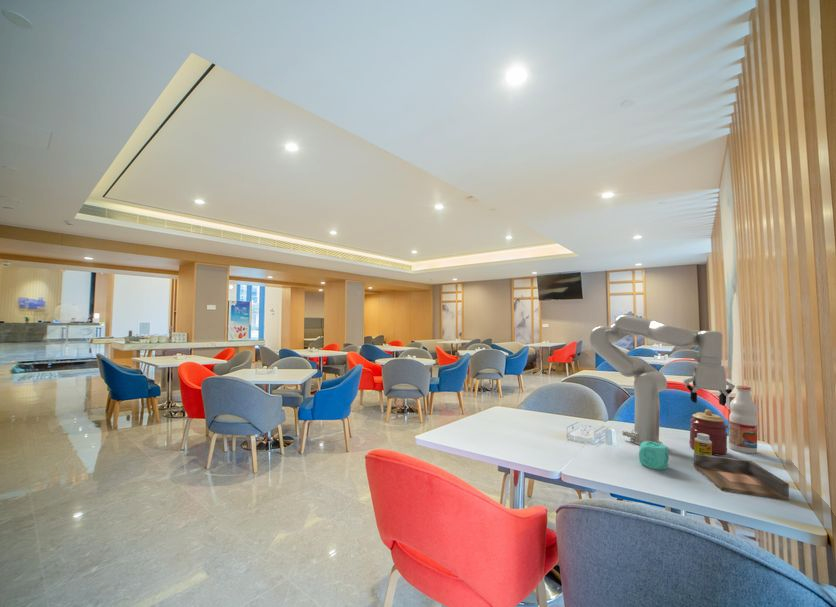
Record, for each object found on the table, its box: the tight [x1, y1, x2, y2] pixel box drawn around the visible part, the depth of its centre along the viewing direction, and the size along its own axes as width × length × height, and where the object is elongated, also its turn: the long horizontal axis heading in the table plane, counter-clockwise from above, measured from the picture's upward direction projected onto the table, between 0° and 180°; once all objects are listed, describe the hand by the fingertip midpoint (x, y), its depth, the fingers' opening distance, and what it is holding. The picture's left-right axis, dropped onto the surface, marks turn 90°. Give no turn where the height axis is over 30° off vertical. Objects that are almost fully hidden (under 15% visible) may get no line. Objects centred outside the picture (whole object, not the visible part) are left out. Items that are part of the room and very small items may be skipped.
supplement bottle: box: [693, 433, 713, 456], centre depth 148 cm, size 6×6×10 cm
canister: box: [689, 409, 729, 456], centre depth 160 cm, size 13×13×18 cm
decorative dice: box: [638, 441, 669, 471], centre depth 139 cm, size 8×8×8 cm
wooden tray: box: [693, 453, 790, 501], centre depth 128 cm, size 18×20×5 cm
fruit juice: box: [728, 385, 758, 455], centre depth 163 cm, size 9×9×28 cm
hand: (707, 403), depth 149 cm, fingers open, 9 cm apart
